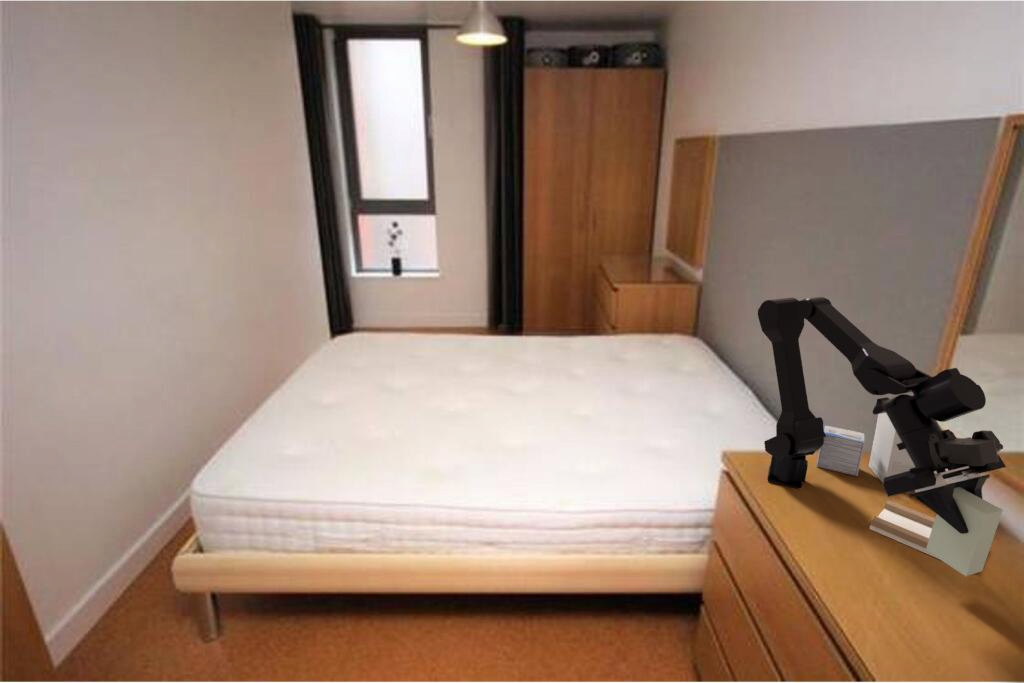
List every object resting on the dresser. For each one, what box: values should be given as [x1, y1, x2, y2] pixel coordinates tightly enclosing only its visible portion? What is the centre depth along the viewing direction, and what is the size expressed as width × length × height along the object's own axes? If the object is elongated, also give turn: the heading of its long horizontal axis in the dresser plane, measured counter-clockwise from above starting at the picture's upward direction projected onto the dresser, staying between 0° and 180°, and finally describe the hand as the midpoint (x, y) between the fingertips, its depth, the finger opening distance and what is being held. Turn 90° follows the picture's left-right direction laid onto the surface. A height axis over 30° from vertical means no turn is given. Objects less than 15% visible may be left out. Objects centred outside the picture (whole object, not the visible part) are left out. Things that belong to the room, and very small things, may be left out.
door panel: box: [926, 487, 1004, 577], centre depth 82 cm, size 6×4×11 cm, turn 18°
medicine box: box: [816, 425, 866, 477], centre depth 118 cm, size 8×4×9 cm, turn 58°
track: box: [869, 500, 940, 560], centre depth 97 cm, size 14×10×2 cm
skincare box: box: [868, 413, 915, 484], centre depth 113 cm, size 8×7×16 cm
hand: (974, 530), depth 80 cm, fingers closed on door panel, 3 cm apart
